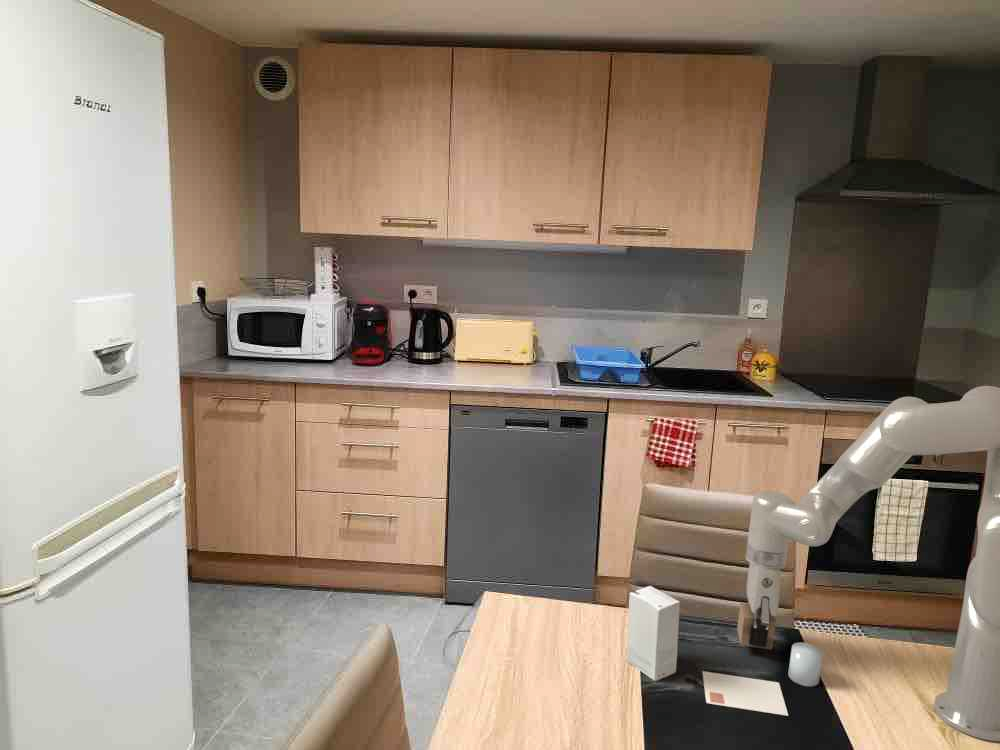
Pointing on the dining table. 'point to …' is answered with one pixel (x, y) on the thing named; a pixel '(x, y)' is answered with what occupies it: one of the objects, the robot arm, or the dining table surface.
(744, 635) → the walnut block
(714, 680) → the letter
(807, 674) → the grey rounded cylinder
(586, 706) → the dining table surface
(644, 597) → the skincare box
